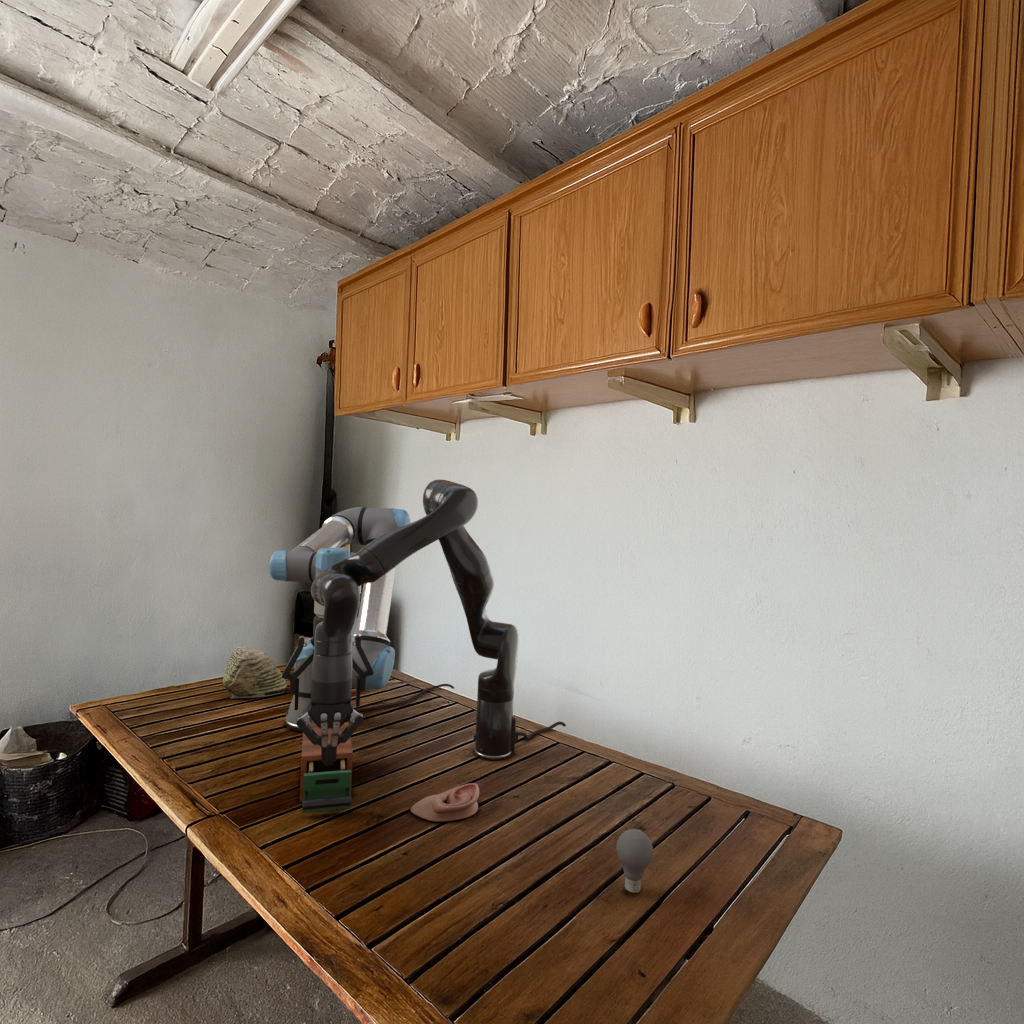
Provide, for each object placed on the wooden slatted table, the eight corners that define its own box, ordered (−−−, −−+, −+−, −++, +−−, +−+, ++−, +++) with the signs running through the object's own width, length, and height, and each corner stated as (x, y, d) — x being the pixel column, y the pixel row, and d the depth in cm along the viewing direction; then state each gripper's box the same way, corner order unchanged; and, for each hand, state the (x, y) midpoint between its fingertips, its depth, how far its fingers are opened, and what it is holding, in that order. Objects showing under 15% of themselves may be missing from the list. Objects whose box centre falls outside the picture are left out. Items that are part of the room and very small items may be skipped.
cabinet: (350, 797, 134) (352, 752, 134) (299, 801, 131) (301, 756, 131) (347, 761, 152) (348, 721, 152) (302, 764, 149) (303, 724, 149)
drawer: (351, 823, 122) (352, 785, 122) (301, 828, 119) (302, 789, 119) (346, 772, 144) (347, 739, 144) (304, 775, 141) (305, 742, 141)
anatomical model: (405, 797, 126) (424, 773, 137) (404, 817, 126) (424, 792, 138) (469, 807, 124) (484, 782, 135) (468, 827, 124) (483, 800, 135)
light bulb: (610, 879, 108) (613, 822, 108) (644, 879, 109) (647, 822, 109) (619, 902, 102) (622, 840, 102) (655, 901, 103) (658, 840, 103)
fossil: (218, 695, 195) (220, 647, 195) (278, 685, 208) (279, 640, 207) (228, 703, 189) (230, 653, 188) (289, 692, 201) (290, 645, 201)
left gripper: (272, 619, 139) (268, 715, 139) (387, 617, 146) (383, 709, 146) (274, 612, 146) (271, 704, 146) (384, 611, 153) (380, 698, 154)
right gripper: (295, 682, 117) (291, 775, 117) (368, 679, 120) (364, 769, 121) (296, 671, 124) (293, 759, 124) (365, 668, 128) (362, 754, 128)
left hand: (327, 706), depth 146 cm, fingers open, 13 cm apart
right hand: (328, 764), depth 122 cm, fingers closed
